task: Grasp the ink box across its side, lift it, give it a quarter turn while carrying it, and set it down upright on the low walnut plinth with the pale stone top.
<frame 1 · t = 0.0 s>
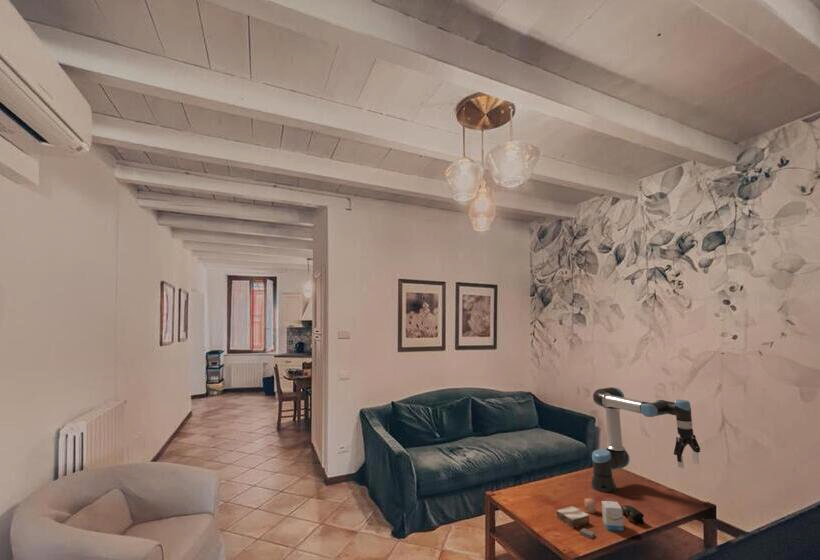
hand: (688, 465, 223), 28 cm above the table, fingers open, 13 cm apart
tan rounded cylinder: (590, 510, 230), on the table
slate coaster: (587, 535, 205), on the table
sculpture: (631, 519, 220), on the table
plinth: (573, 520, 219), on the table
ink box: (613, 527, 212), on the table
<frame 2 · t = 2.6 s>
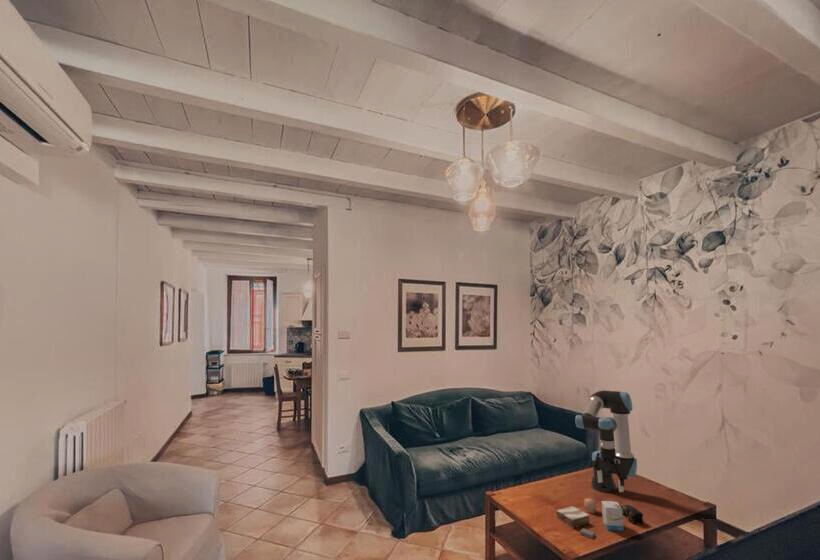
hand: (610, 486, 215), 21 cm above the table, fingers open, 13 cm apart
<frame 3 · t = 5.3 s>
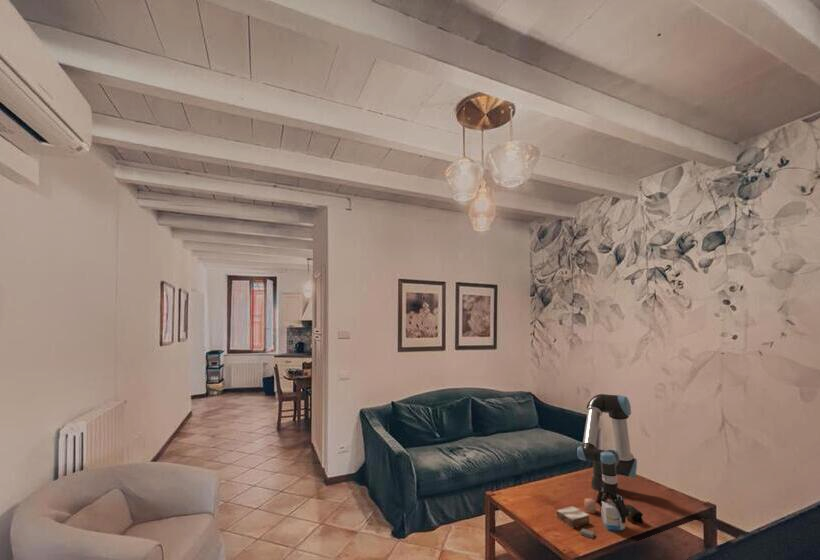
hand: (612, 523, 213), 2 cm above the table, fingers closed on ink box, 11 cm apart
ink box: (613, 526, 212), on the table, touching gripper
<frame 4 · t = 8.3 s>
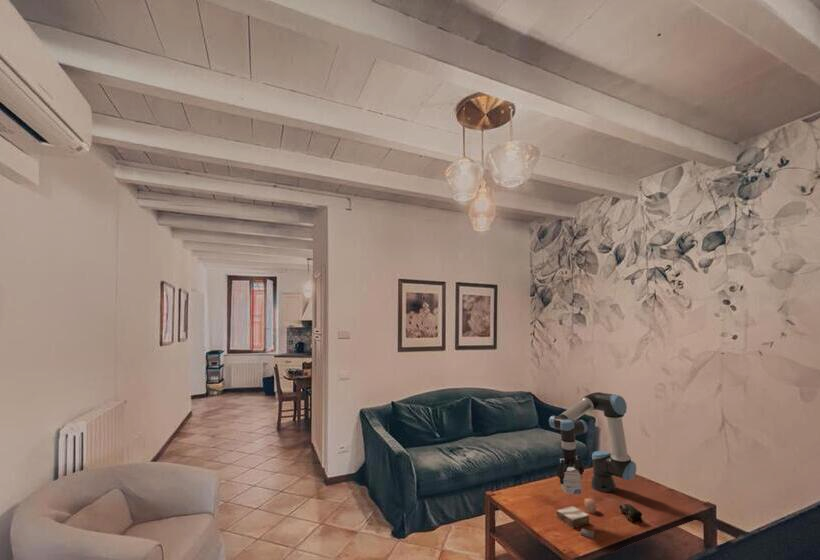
hand: (571, 487, 221), 18 cm above the table, fingers closed on ink box, 11 cm apart
ink box: (571, 491, 221), point 16 cm above the table, touching gripper
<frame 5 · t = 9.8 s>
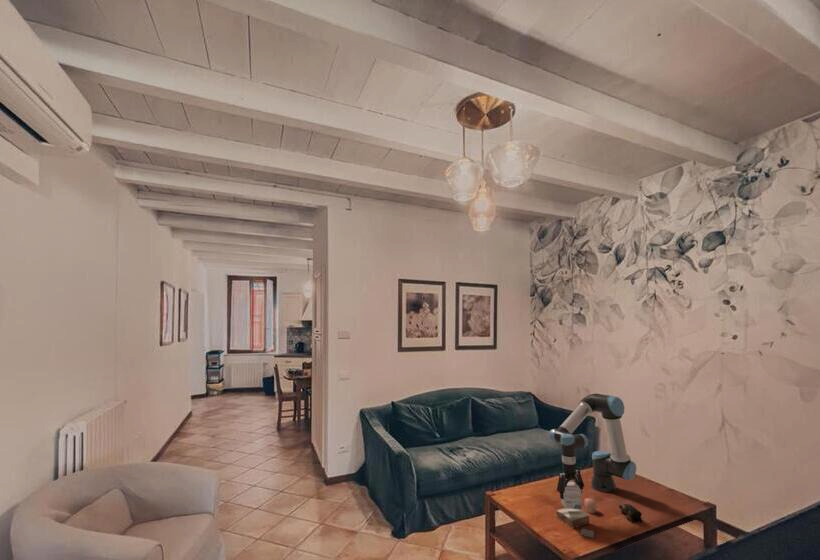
hand: (571, 502, 220), 10 cm above the table, fingers closed on ink box, 11 cm apart
ink box: (571, 505, 220), point 8 cm above the table, touching gripper
when the fingers open (8 cm above the table, at t = 11.3 s): ink box drops 1 cm, resting on plinth.
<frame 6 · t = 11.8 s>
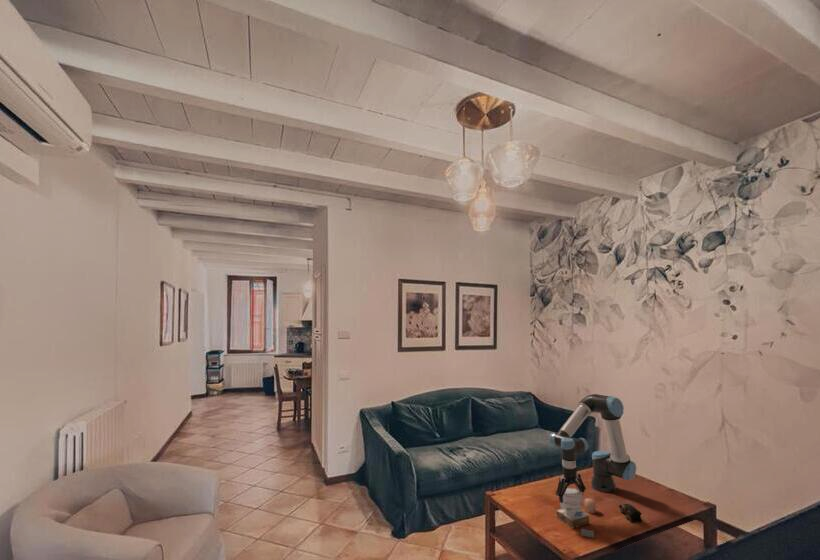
hand: (571, 505, 220), 8 cm above the table, fingers open, 13 cm apart
ink box: (572, 512, 220), point 4 cm above the table, touching plinth
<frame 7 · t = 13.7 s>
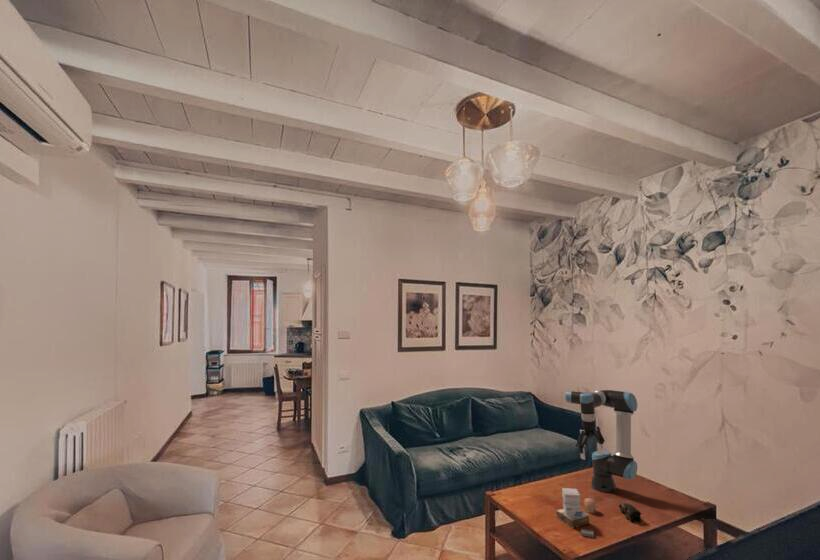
hand: (591, 456, 229), 33 cm above the table, fingers open, 13 cm apart
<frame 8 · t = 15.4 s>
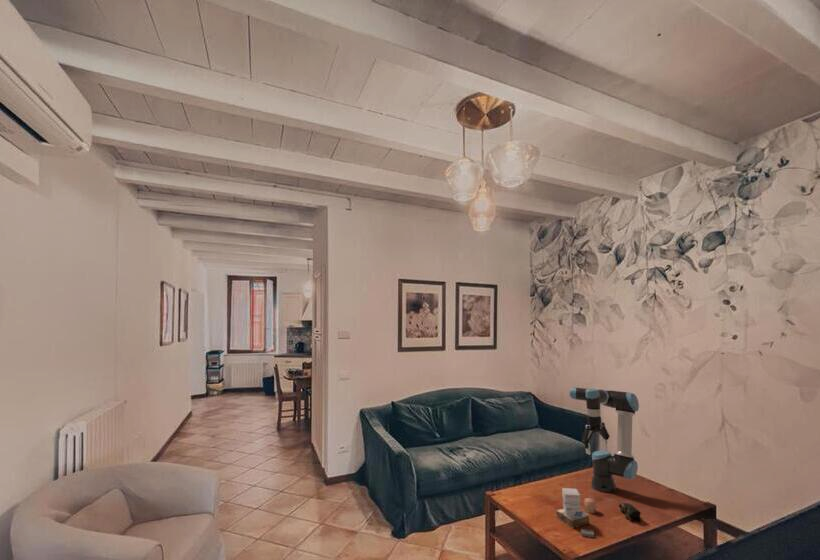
hand: (596, 452, 230), 35 cm above the table, fingers open, 13 cm apart
at the end: ink box inside the target area on the plinth (0.2 cm from its centre), point 4.3 cm above the plinth's base; ink box tilted 0°; the gripper is holding nothing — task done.
